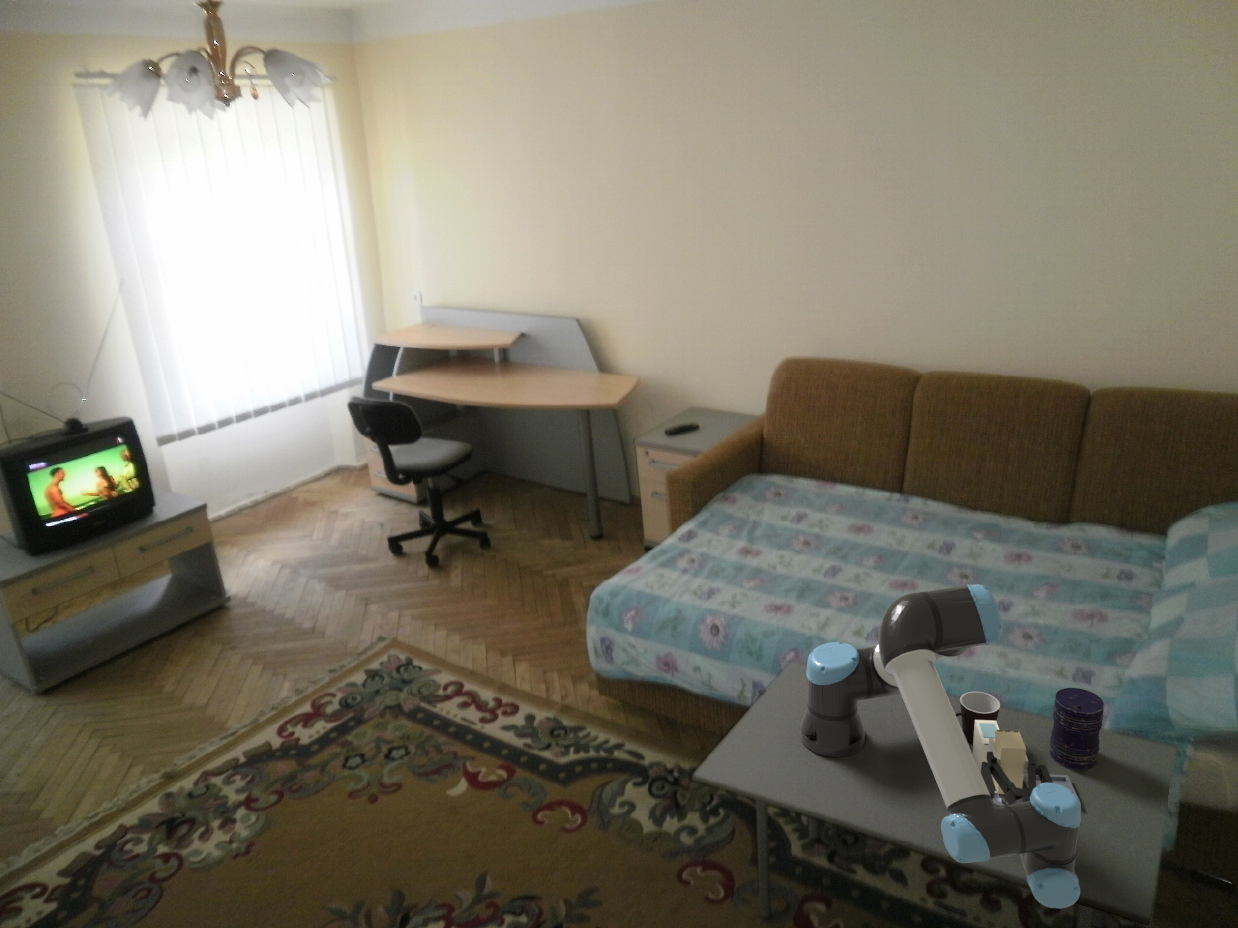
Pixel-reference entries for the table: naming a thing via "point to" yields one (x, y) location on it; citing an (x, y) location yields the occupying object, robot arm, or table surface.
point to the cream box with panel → (983, 739)
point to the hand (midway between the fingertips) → (1004, 744)
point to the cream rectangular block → (1010, 756)
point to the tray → (1054, 781)
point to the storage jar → (1076, 728)
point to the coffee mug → (976, 711)
